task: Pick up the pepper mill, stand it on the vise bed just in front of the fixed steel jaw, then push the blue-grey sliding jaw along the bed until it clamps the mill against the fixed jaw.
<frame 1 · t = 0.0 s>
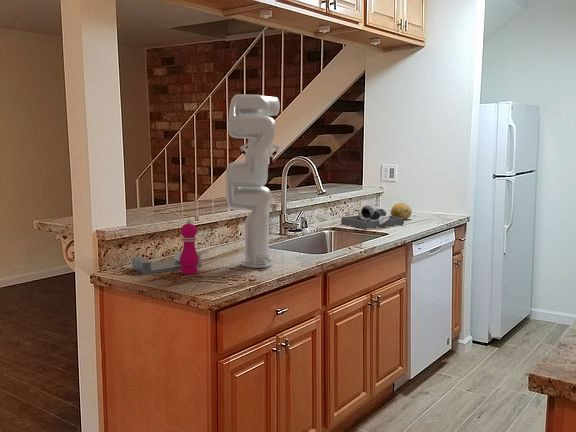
hand: (259, 165, 263), 37 cm above the worktop, tool pointing down, fingers open, 9 cm apart
vise: (167, 267, 229), on the worktop
pepper mill: (189, 272, 223), on the worktop
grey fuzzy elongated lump: (372, 224, 339), touching bucket tray
jaw: (187, 257, 234), point 3 cm above the worktop, slide at 0.0 cm
bucket tray: (372, 224, 339), on the worktop
potato: (400, 219, 361), on the worktop
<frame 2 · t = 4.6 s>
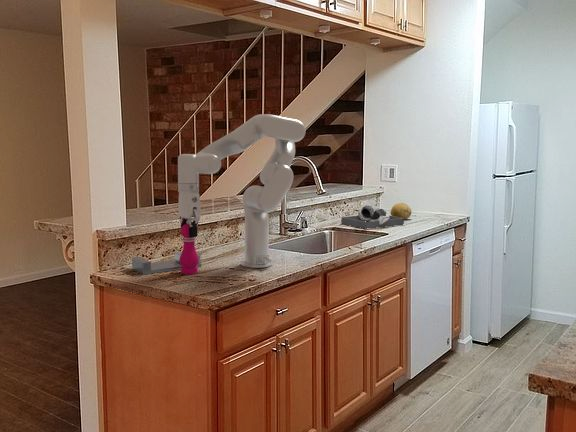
hand: (189, 235, 221), 14 cm above the worktop, tool pointing down, fingers closed on pepper mill, 6 cm apart
pepper mill: (189, 272, 223), on the worktop, touching gripper
everything else where it was.
when the fingers open (16 cm above the worktop, at t = 9.7 s): pepper mill stays where it is, resting on vise.
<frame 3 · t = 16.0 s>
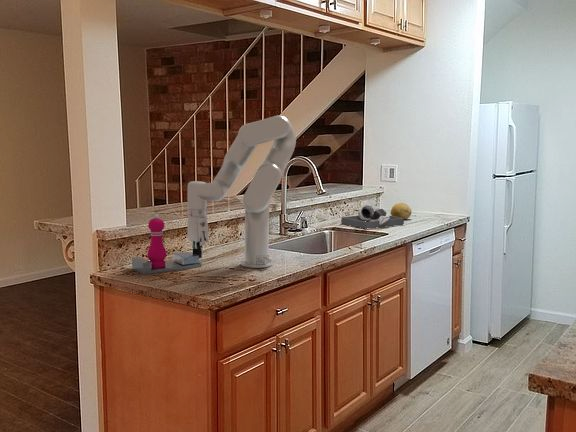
hand: (197, 258, 236), 2 cm above the worktop, tool pointing down, fingers closed
pepper mill: (157, 266, 227), point 1 cm above the worktop, touching vise
jaw: (185, 258, 233), point 3 cm above the worktop, slide at 0.7 cm, touching gripper
everything else where it was.
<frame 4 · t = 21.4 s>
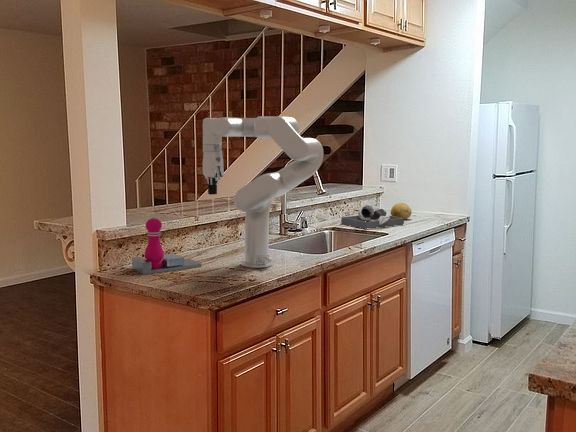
hand: (212, 194, 241), 27 cm above the worktop, tool pointing down, fingers closed
pepper mill: (154, 266, 226), point 1 cm above the worktop, touching vise
jaw: (170, 259, 230), point 3 cm above the worktop, slide at 7.0 cm
everything else where it was.
at the end: pepper mill inside the target area on the vise (0.5 cm from its centre), point 1.0 cm above the vise's base; pepper mill tilted 0°; jaw slide at 7.0 cm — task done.
